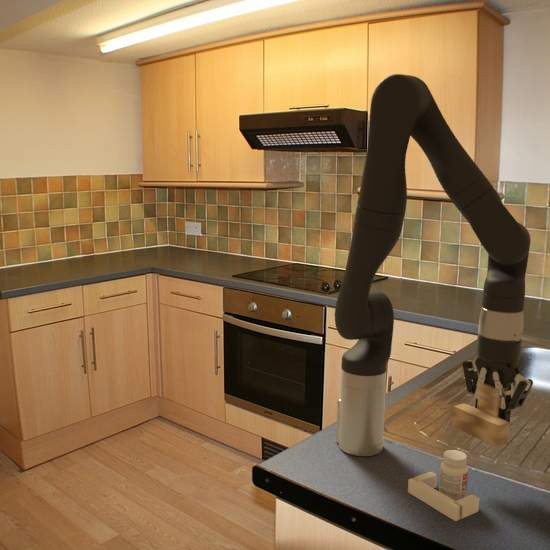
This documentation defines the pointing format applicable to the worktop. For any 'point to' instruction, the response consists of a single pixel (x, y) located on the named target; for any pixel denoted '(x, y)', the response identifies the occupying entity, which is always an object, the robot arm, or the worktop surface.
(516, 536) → the worktop surface
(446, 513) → the bay
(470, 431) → the scraper
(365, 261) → the robot arm
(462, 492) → the pill bottle
